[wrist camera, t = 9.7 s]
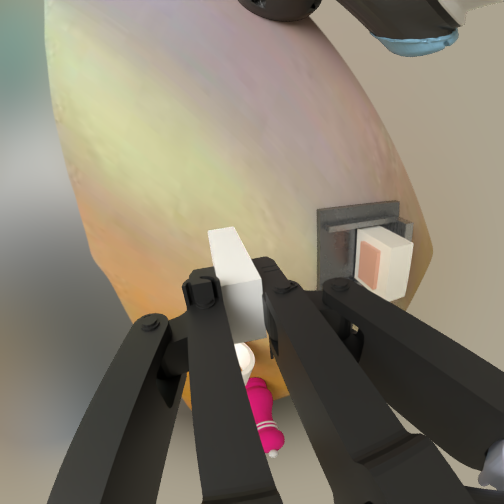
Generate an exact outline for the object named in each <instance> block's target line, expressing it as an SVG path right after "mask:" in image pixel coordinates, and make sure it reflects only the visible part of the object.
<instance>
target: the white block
mask: <svg viewBox="0 0 504 504" xmlns="http://www.w3.org/2000/svg"><path fill="white" fill-rule="evenodd" d="M413 244H414V243H412V242H410V241H408V240H407V239H405V238H403V237H401V236H399V235H397V234H395V233H393V232H391V231H389V230H387V229H385V228H383V227H381V226H379V225H376V226H370V227H364V228H358V229H357V249H356V264H355V277H354V278H355V279H357V280H358V281H359V282H360V283H361V284H362V285H363V286H364V287H366V288H367V289H368V290H370V291H371V292H373V293H375V294H376V295H378V296H380V297H382V298H383V299H385V300H387V301H389V302H390V301H393V300H396V299H398V298H401V297H404V296H405V293H406V288H407V282H408V277H409V271H410V265H411V258H412V251H413Z"/></svg>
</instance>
